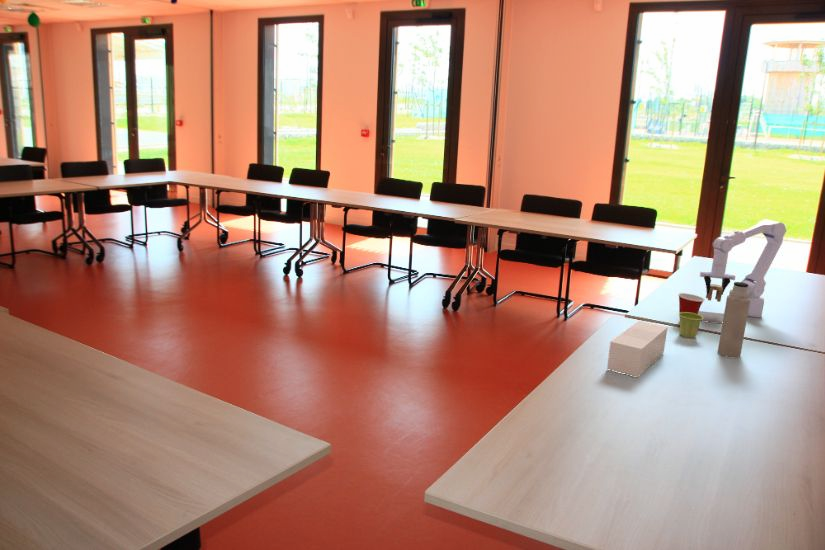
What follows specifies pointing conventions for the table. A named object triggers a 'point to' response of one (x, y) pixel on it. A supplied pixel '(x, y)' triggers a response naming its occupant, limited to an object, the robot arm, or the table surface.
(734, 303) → the thermos bottle
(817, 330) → the table surface
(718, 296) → the stool
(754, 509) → the table surface
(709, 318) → the mat
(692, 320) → the plant pot
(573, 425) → the table surface
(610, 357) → the beige rectangular block
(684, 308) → the plastic cup
